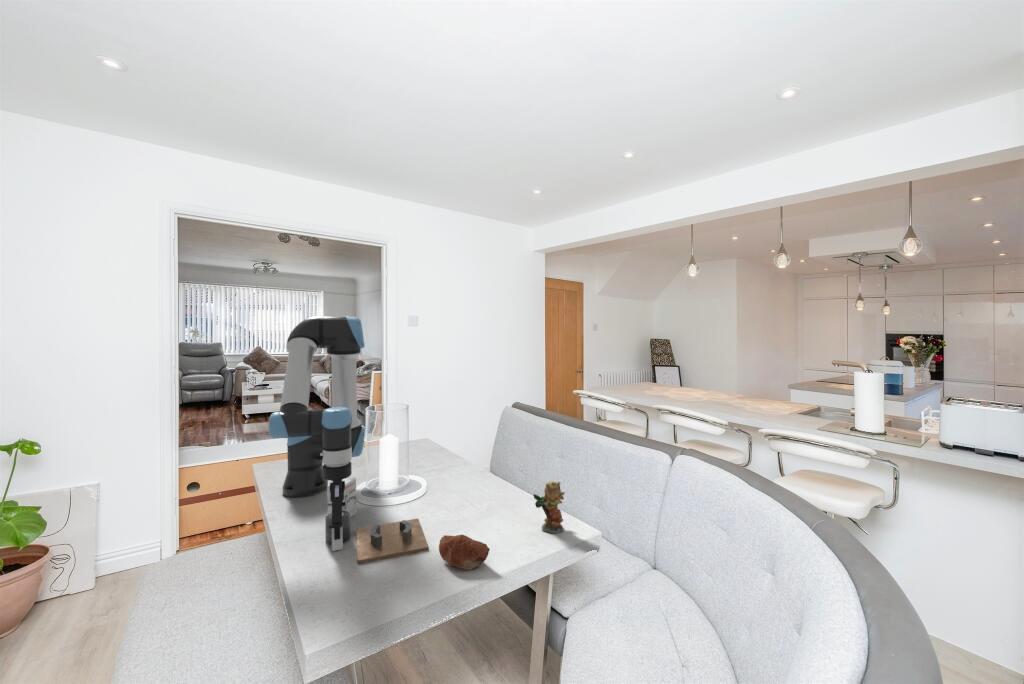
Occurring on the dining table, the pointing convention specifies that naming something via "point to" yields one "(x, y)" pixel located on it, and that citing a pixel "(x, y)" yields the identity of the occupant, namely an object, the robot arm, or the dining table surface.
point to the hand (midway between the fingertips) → (337, 539)
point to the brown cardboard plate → (390, 540)
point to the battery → (345, 527)
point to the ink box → (346, 496)
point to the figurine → (551, 507)
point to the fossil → (463, 551)
